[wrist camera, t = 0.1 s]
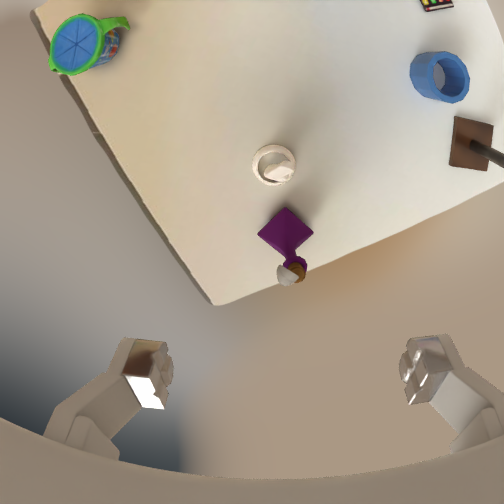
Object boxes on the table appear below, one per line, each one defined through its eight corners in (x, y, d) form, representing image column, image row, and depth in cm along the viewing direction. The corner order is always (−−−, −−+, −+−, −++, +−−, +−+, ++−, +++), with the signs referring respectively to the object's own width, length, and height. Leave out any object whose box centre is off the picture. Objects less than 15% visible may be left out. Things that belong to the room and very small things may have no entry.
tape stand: (454, 116, 46) (505, 135, 32) (490, 124, 45) (541, 146, 32) (448, 164, 51) (494, 195, 37) (484, 169, 51) (530, 200, 37)
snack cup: (76, 86, 47) (45, 91, 38) (65, 41, 41) (33, 40, 33) (146, 54, 44) (122, 51, 36) (134, 6, 39) (108, -5, 30)
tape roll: (401, 76, 44) (418, 77, 38) (425, 43, 40) (443, 41, 34) (434, 107, 46) (453, 113, 40) (456, 76, 42) (477, 78, 36)
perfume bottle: (312, 224, 60) (326, 280, 45) (285, 249, 63) (289, 309, 48) (284, 199, 58) (289, 250, 42) (257, 226, 61) (253, 282, 46)
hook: (319, 136, 46) (316, 178, 46) (289, 157, 58) (286, 192, 57) (275, 124, 44) (269, 167, 44) (252, 148, 56) (247, 184, 55)
